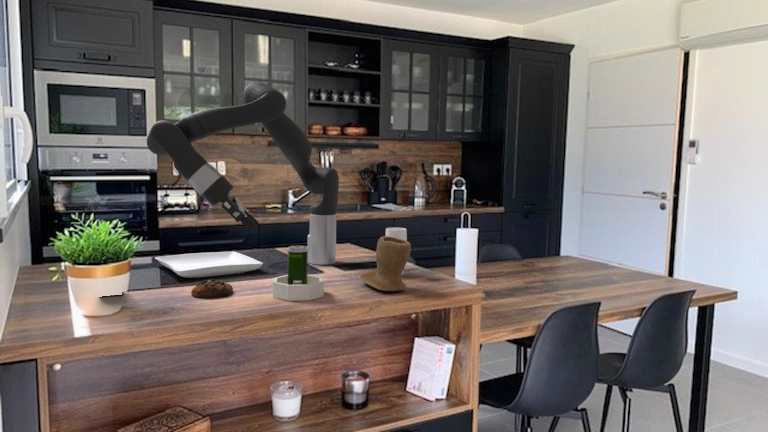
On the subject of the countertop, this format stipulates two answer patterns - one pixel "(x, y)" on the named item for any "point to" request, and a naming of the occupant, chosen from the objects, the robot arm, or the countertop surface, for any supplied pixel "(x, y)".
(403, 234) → the drinking glass
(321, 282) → the cream bowl
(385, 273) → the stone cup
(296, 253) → the beer can
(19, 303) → the countertop surface
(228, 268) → the square plate
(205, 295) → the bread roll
